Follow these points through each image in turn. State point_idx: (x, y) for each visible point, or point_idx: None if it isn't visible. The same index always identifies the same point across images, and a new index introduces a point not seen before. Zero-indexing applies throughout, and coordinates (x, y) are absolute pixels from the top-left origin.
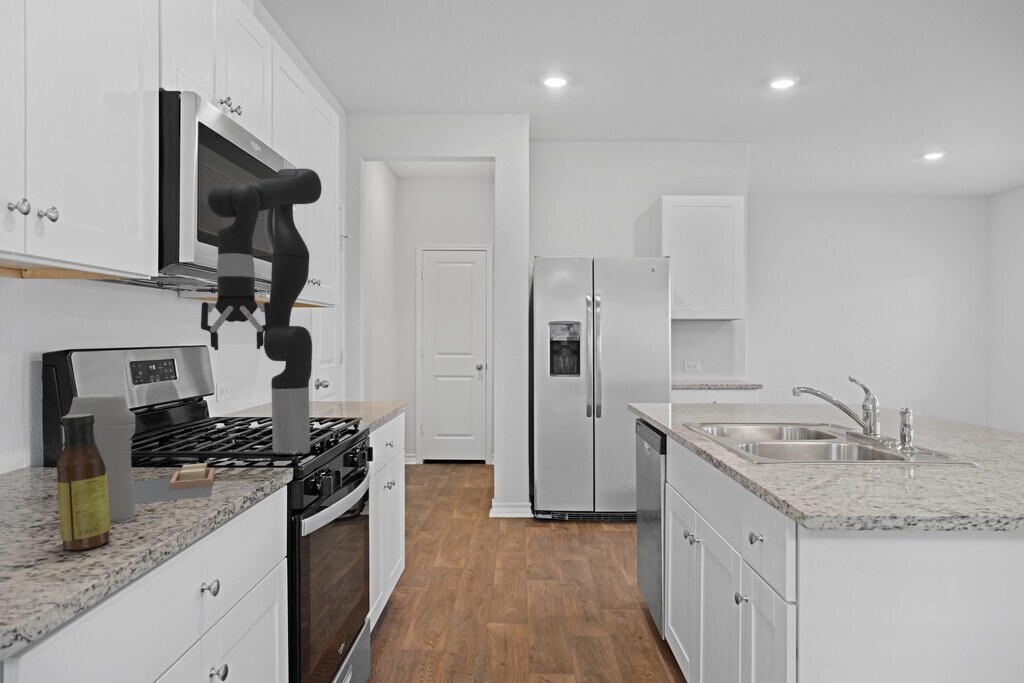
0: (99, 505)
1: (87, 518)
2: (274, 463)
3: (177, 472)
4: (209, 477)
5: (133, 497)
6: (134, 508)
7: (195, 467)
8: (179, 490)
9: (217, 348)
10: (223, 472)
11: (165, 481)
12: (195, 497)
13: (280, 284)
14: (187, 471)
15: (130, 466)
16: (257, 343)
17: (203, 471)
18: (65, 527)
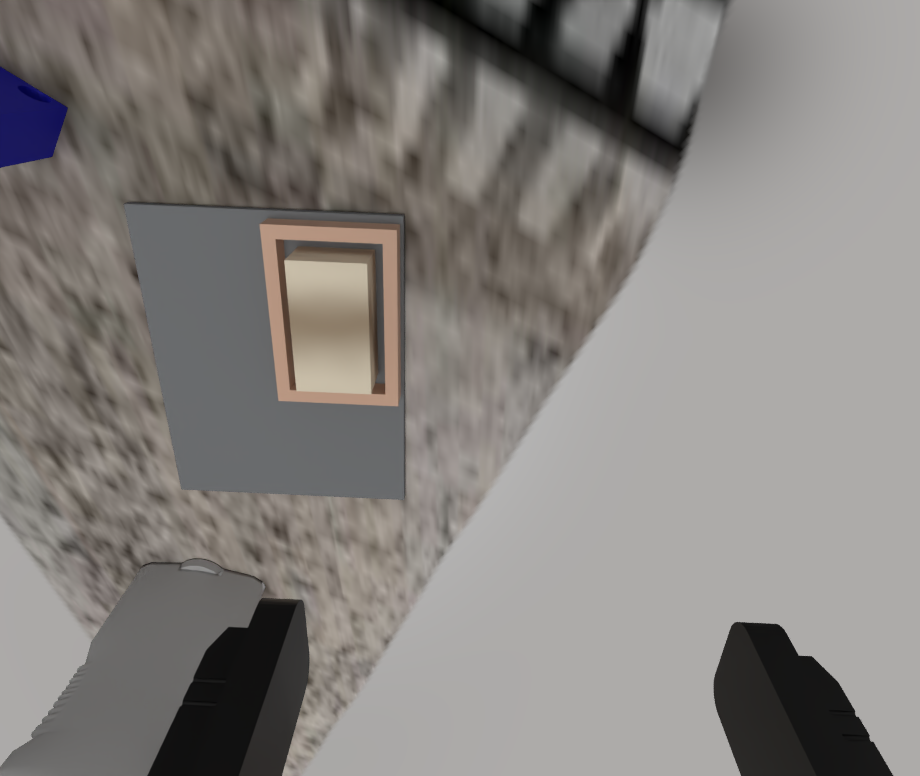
0: None
1: None
2: (646, 51)
3: (270, 252)
4: (390, 384)
5: (247, 627)
6: (256, 606)
7: (336, 329)
8: (314, 406)
9: (302, 685)
10: (429, 149)
11: (243, 260)
12: (368, 497)
13: None
14: (318, 381)
15: None
16: (740, 754)
17: (369, 393)
18: None
